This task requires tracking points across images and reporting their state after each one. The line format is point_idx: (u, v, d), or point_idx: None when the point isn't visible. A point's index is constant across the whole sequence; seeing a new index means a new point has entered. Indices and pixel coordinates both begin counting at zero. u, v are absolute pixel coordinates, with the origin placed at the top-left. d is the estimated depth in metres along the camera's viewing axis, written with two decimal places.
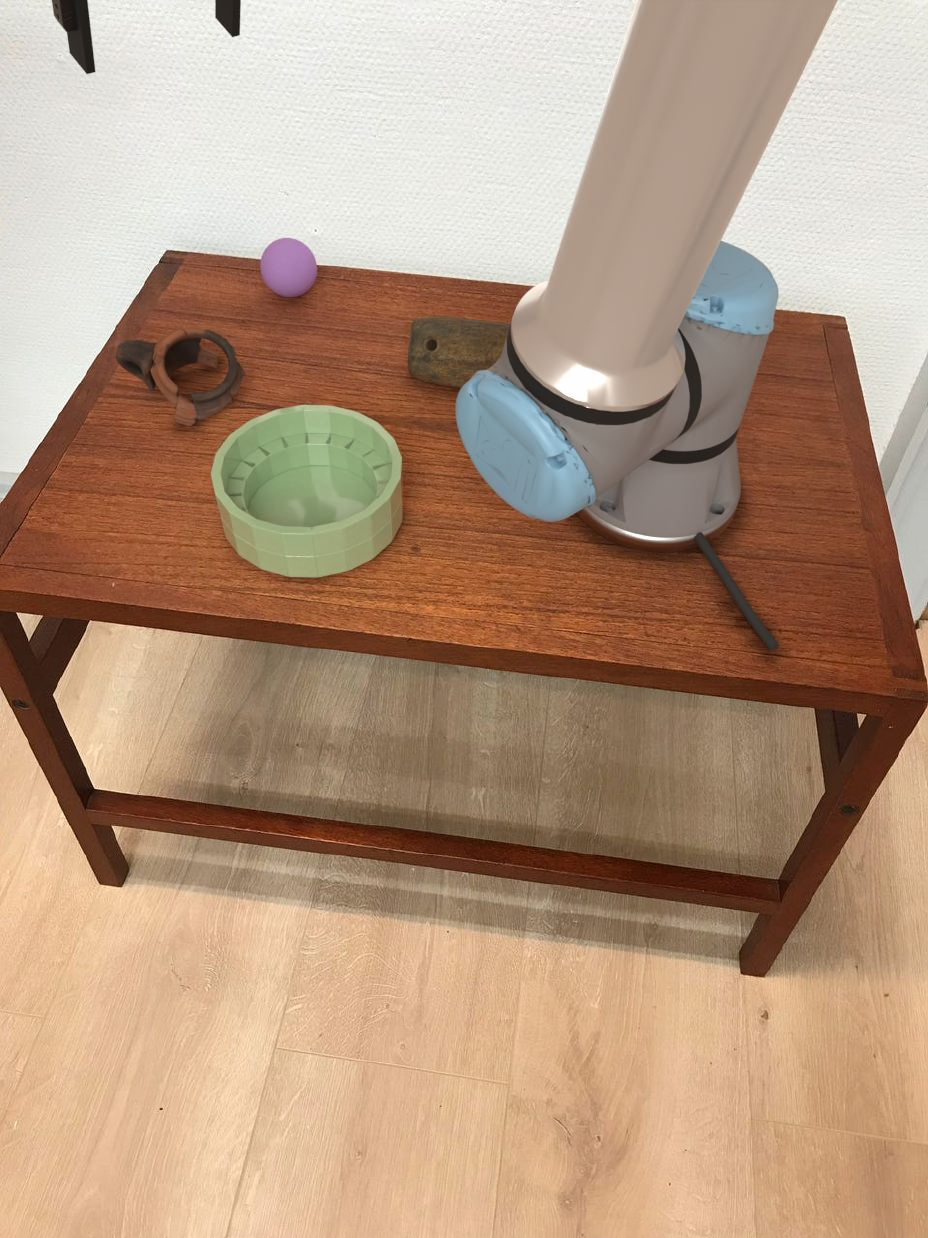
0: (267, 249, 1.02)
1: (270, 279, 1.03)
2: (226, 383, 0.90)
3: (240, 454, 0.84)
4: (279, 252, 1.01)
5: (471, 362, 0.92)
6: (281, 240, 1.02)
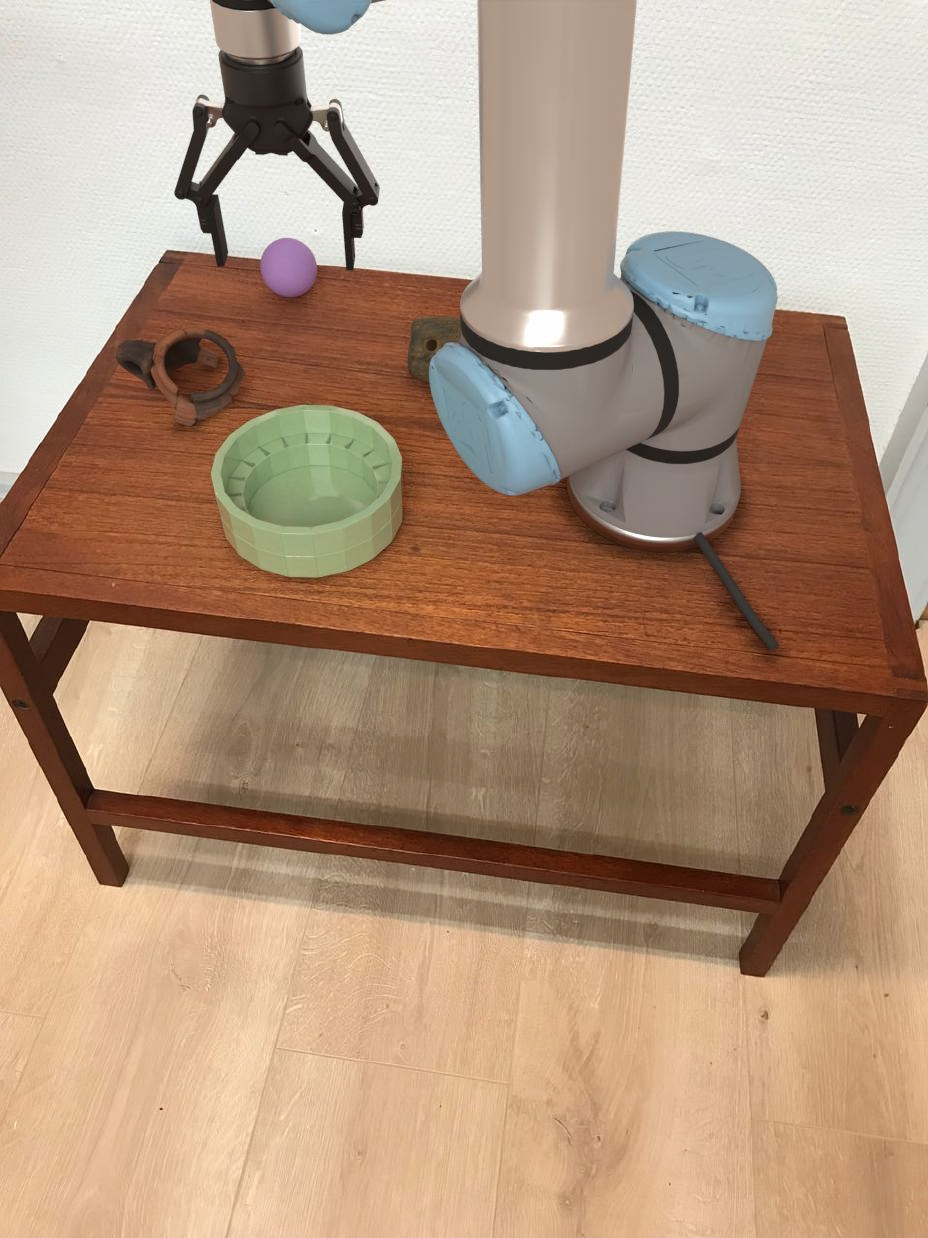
0: (267, 249, 1.02)
1: (270, 279, 1.03)
2: (226, 383, 0.90)
3: (240, 454, 0.84)
4: (279, 252, 1.01)
5: None
6: (281, 240, 1.02)
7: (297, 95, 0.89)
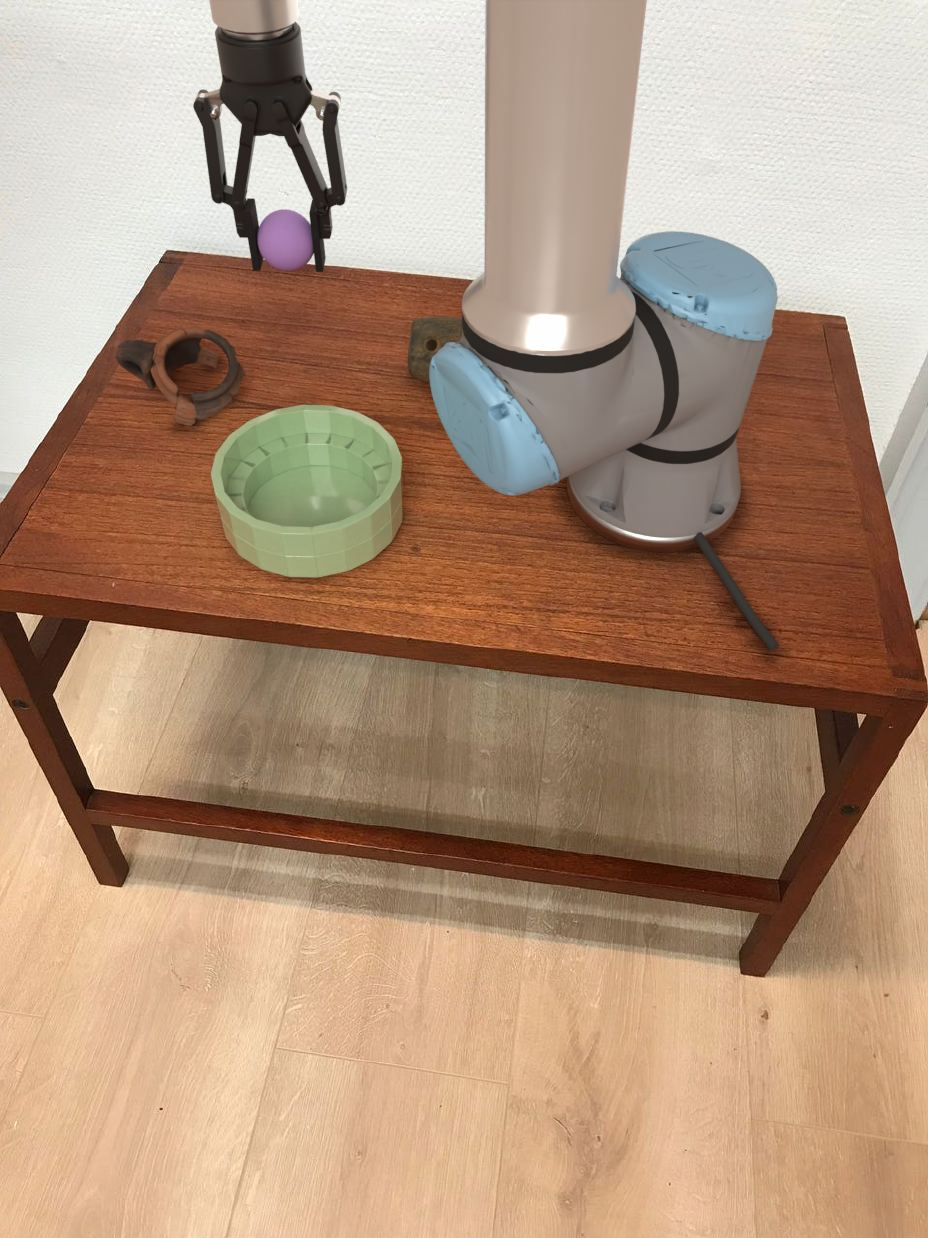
0: (264, 221, 1.00)
1: (267, 252, 1.00)
2: (226, 383, 0.90)
3: (240, 454, 0.84)
4: (277, 223, 0.99)
5: None
6: (278, 211, 1.00)
7: (295, 72, 0.87)
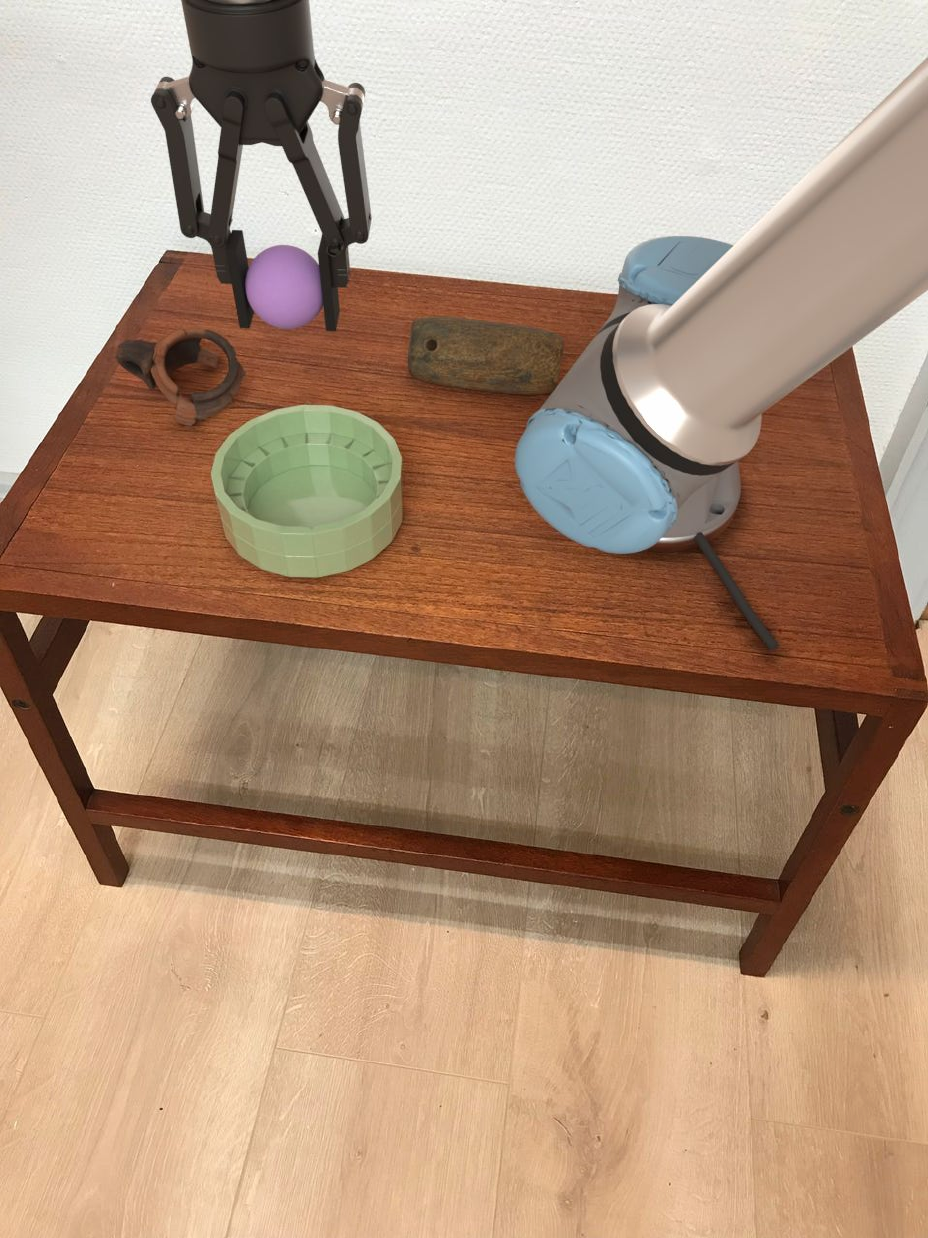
0: (255, 261, 0.72)
1: (258, 304, 0.72)
2: (226, 383, 0.90)
3: (240, 454, 0.84)
4: (272, 266, 0.71)
5: (471, 362, 0.92)
6: (275, 248, 0.71)
7: (299, 54, 0.59)
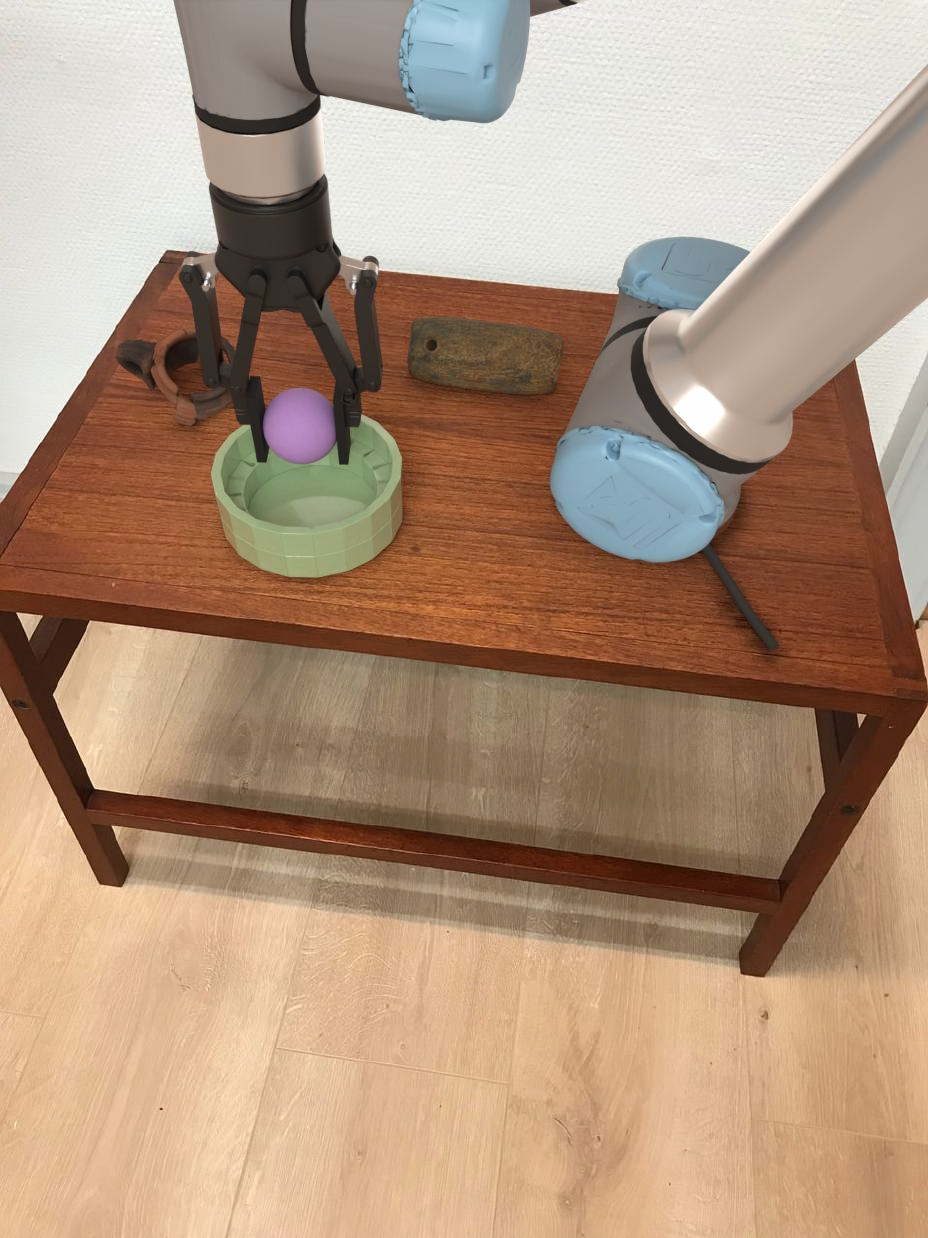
0: (272, 405, 0.76)
1: (276, 445, 0.76)
2: None
3: (240, 454, 0.84)
4: (289, 411, 0.75)
5: (471, 362, 0.92)
6: (291, 393, 0.76)
7: (320, 240, 0.63)
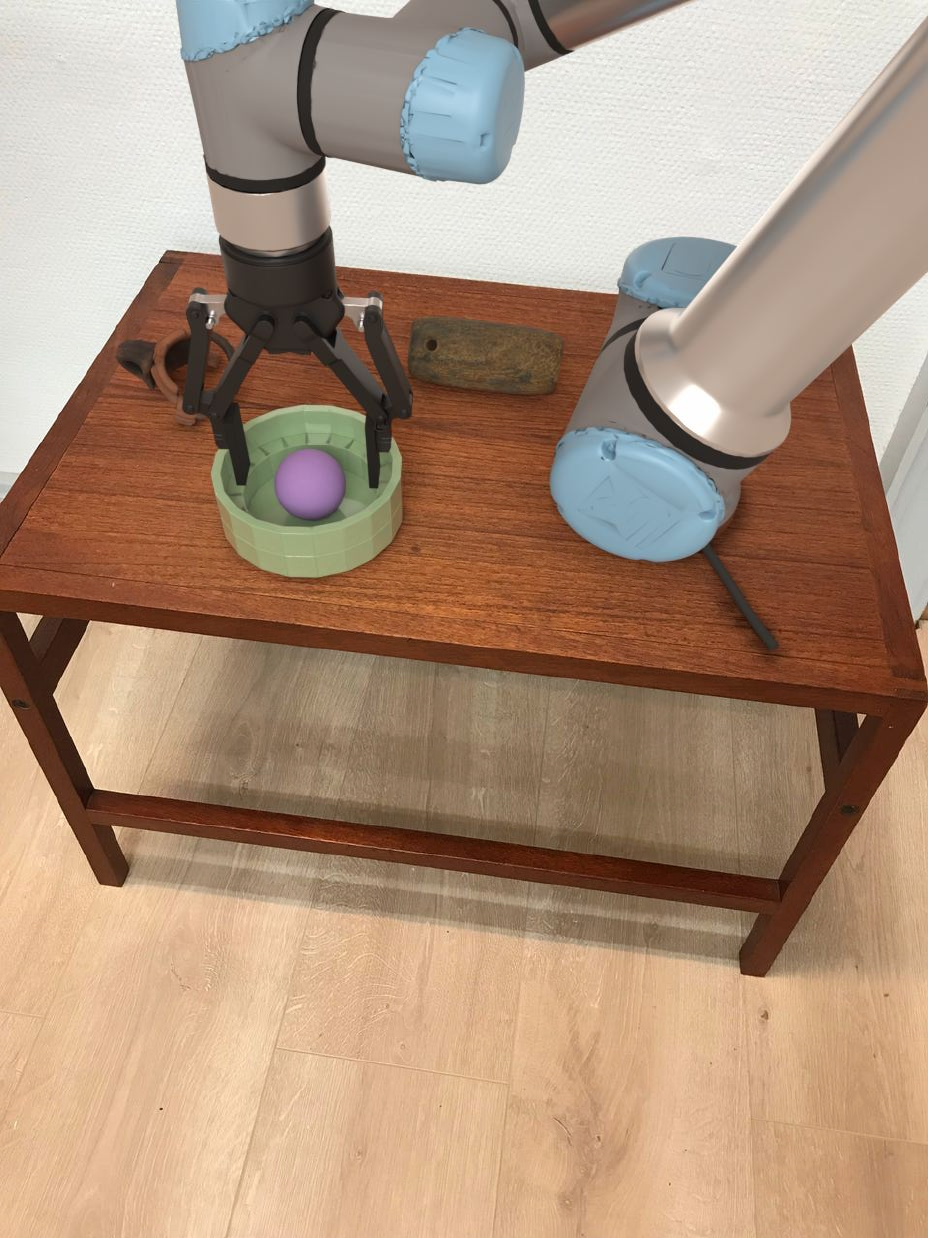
0: (283, 466, 0.81)
1: (287, 504, 0.81)
2: None
3: None
4: (300, 473, 0.80)
5: (471, 362, 0.92)
6: (301, 455, 0.81)
7: (325, 288, 0.66)
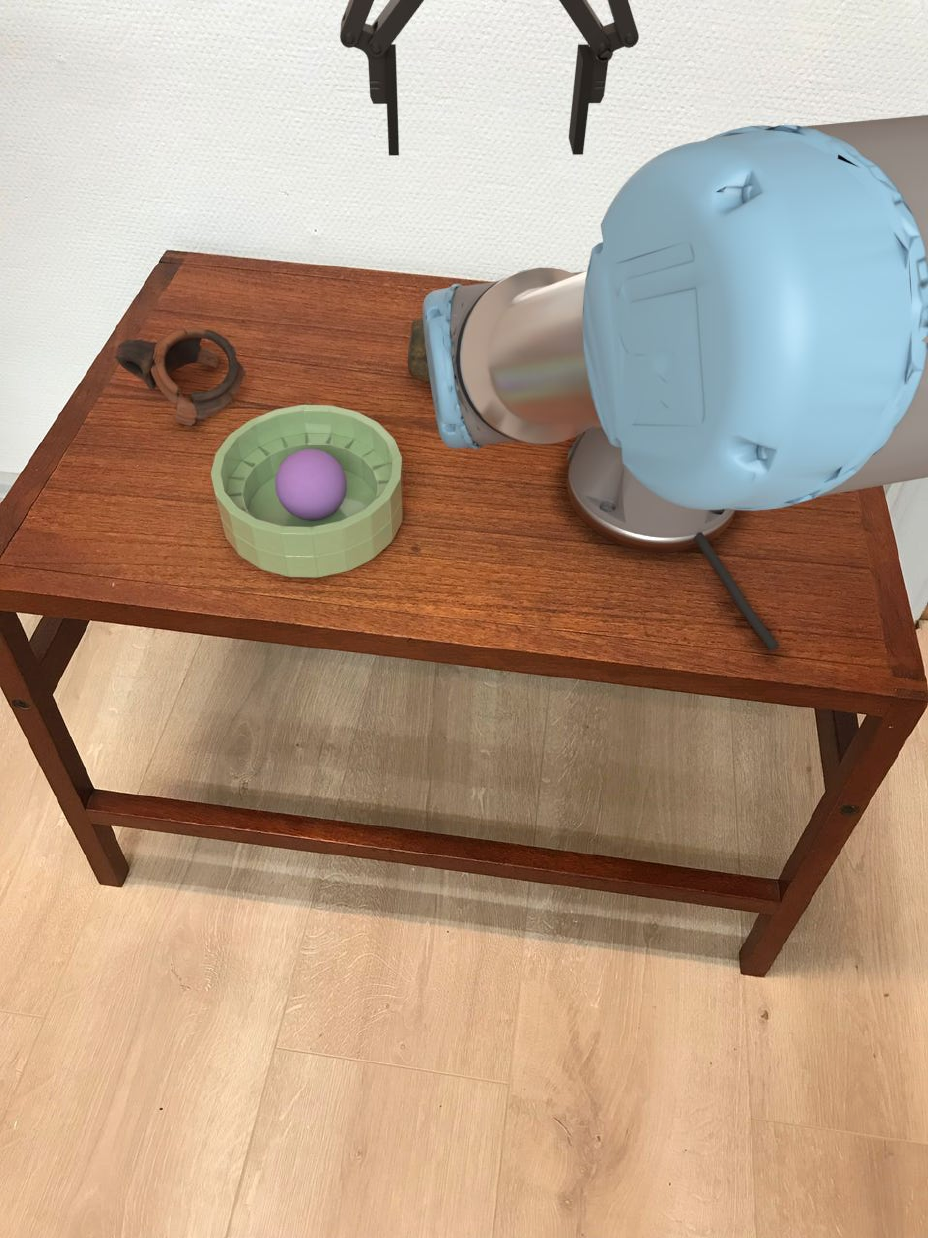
0: (285, 466, 0.81)
1: (288, 504, 0.81)
2: (226, 383, 0.90)
3: (240, 454, 0.84)
4: (301, 473, 0.80)
5: None
6: (303, 455, 0.81)
7: None
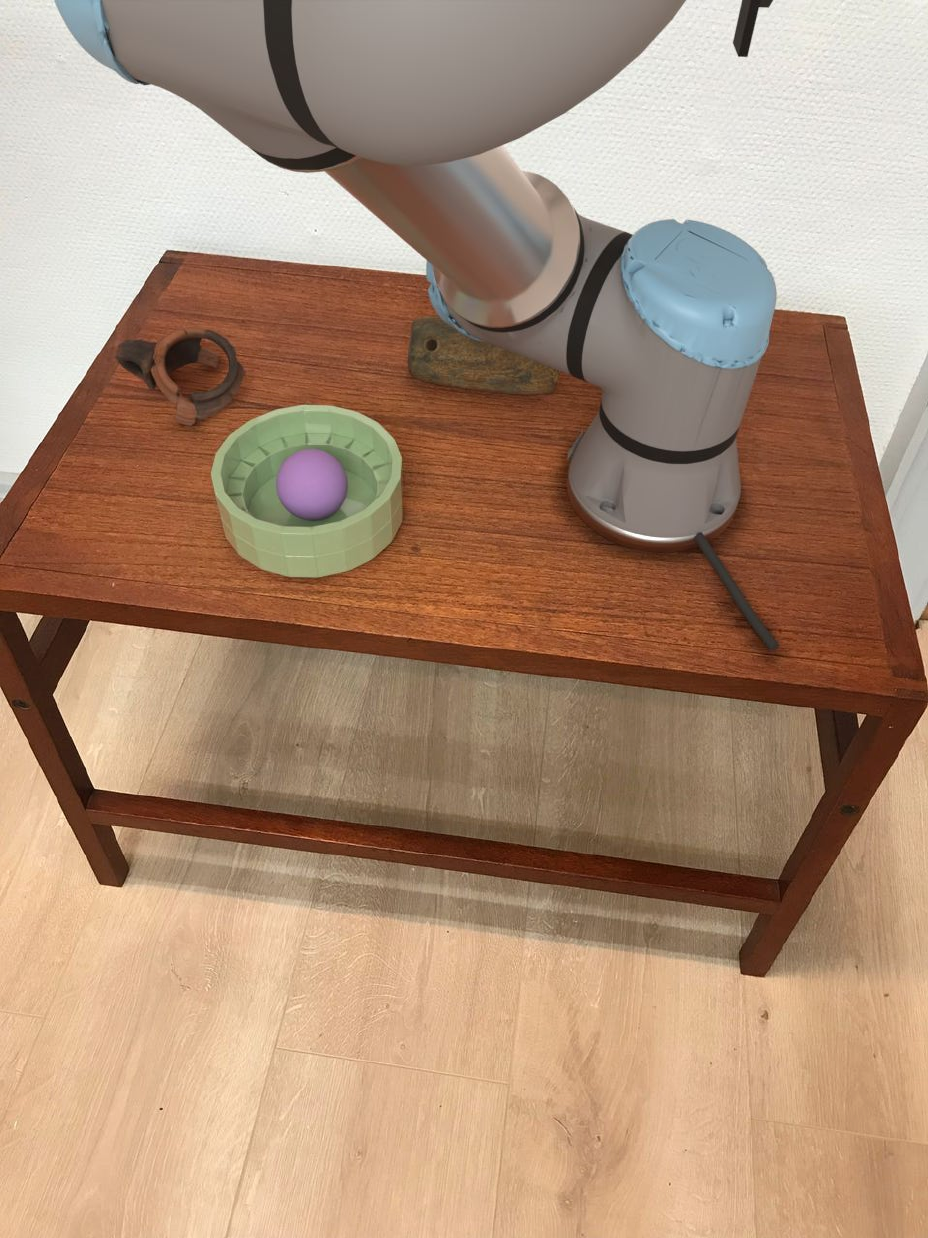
0: (287, 466, 0.81)
1: (288, 503, 0.81)
2: (226, 383, 0.90)
3: (240, 454, 0.84)
4: (303, 473, 0.80)
5: (471, 362, 0.92)
6: (305, 455, 0.81)
7: None
